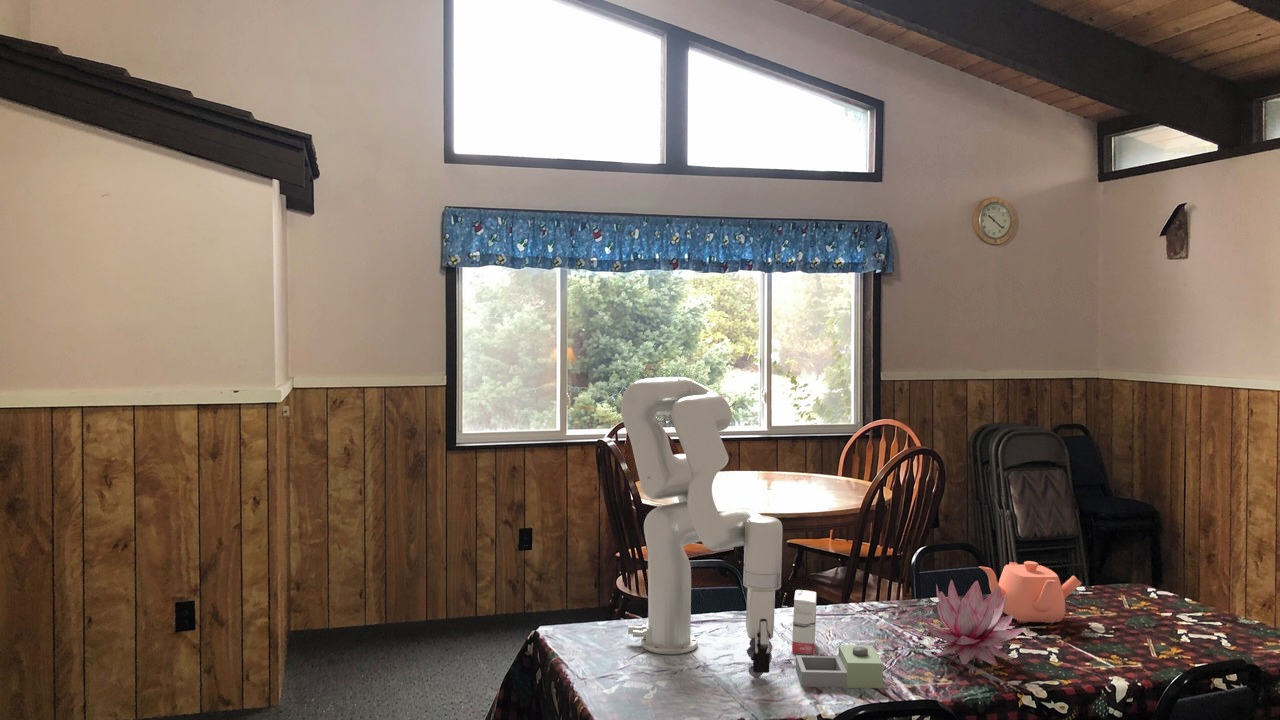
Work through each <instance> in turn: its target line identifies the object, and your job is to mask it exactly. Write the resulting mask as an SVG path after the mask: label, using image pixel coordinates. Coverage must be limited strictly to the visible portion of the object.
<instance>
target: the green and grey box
mask: <svg viewBox="0 0 1280 720" xmlns="http://www.w3.org/2000/svg"><path fill="white" fill-rule="evenodd" d="M883 663H884V662H883V661H882V660H881V657H880V655H879V654H878V653H877V651H876V649H875V648H874V645H861V644H860V645H856V644H855V645H853V644H852V645H851V644H838V655H800V654H799V655H798V654H797V655H795V671H796V675H797V677H798V681H799V684H800V686H801V687H803V688H804V687H806V688H843V689H844V688H845V689H846V688H847V689H848V688H849V689H850V688H853V689H855V688H856V689H883V686H884V685H883V683H884V681H883V680H884V676H883V675H884V672H883V671H884V664H883ZM801 687H800V688H801Z"/></svg>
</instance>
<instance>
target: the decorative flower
mask: <svg viewBox="0 0 1280 720" xmlns="http://www.w3.org/2000/svg"><path fill="white" fill-rule="evenodd" d="M935 586H936V597H937V600H938V604H936V609H937V616H938V618H940V620H941V623H943V625H944V626H945V627H946V628H947V629H949V630H945V629H944V628H943V627H940V626H938V625H936V624H934V623H932V622H930V621H928V620H927V619H926V618H924V617H923V616H921V614H919V613H918V612H917V613H916V614H917V615H918V616H919V618H920V619H921V620H922V621H923V622H924V623H926V624H927V625H924V626H925V628H926V629H927V630H928V631H929V632H930V633H932V634H933V635H935V636H937V637H939V638H941V639H944V640H946V641H947V642H945V643H940V644H930V643H929V644H927V645H928V646H931V647H935V648H936V647H939V648H940V647H946V646H948V647H947V648H945V649H944V650H943V651H941V652H939V653H937V654H934V656H935V657H939V656H940V657H942V656H947V655H951V654H953V653H954V654H953V656H952V658H953V659H955V658H957V657H959V660H960V662H961V664H962V665H967V664H968V663H969V662H970V661H971V660H972V659H973V658H975V659H976V660H977V662H983V661H984V662H986V663H988V664H990V665H992V666H998V662H997V660H996V658H995V657H999V658H1003V659H1013V658H1014V657H1013V656H1011V655H1009V654H1007V652H1004V651H1003V650H1001V649H1002V648H1003V645H998V644H1000V643H1003V642H1006V641H1009V640H1011V639H1014V638H1016V637H1017V636H1019V635H1020V634H1022V633H1023V632H1024V631H1025V630H1027V627H1022V628H1013V629H1012V628H1011V629H1008V628H1009V627H1010V624H1011V623H1012V620H1013V619H1014V618H1013V615H1009V616H1008V615H1006V616H1003V617H1001V616H1002V615H1003V613H1004V612H1003V610H1004V607H1005V601H1006V594H1005V596H1004V597H1003V599H1002V600H1001V589H1000V587H997V588H996V589H995V590H994V591H993V592H992V593H991V592H990V593H989V595H988V596H987V597H986V598H985V599H984V598H983V593H982V589H981V586H980V583H979V581H978V580H976V581H974V582H973V583H972V585H971V586H970V588H969V589H968V590H967V592H966V594H965V595H964V597H962V598H961V600H960V598H959V596H958V592H957V590H956V587H955V584H954V581H953V580H952V579H950V582H949V584H948V591H947V596H946V595H945V593H944V592H943V591H939V588H938V587H939V586H938V584H936V585H935ZM984 662H983V663H984Z"/></svg>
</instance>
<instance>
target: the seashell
mask: <svg viewBox="0 0 1280 720" xmlns="http://www.w3.org/2000/svg"><path fill="white" fill-rule="evenodd" d="M757 637H760V634H757ZM759 643H760V640H758V644H759ZM773 648H774V647H773V644H772V642H771V640H769V653H770V663H771V661H772V656H773V655H772V651H773ZM753 652H755V638H752V639H750V640H749V647H748V648H747V650H746V654H747V655H748V657H749V658H751V657H752V658H753ZM747 672H748V673H749V675H750V676H751V677H753V678H754V679H759V678H760V677H761V676H763V674H764V673H755V672H753V664H752V665H749V667H748V671H747Z"/></svg>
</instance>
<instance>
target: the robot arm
mask: <svg viewBox="0 0 1280 720" xmlns="http://www.w3.org/2000/svg"><path fill="white" fill-rule="evenodd" d="M620 414H621V419H622V423H623V425H624V428H625V430H626V433H627V435H628V438H629V441H630V444H631V448H632V453H633V457H634V461H635V465H636V466H635V467H636V470H637V475H638V478H639V483H640V487H641V490H642V492H643V494H644V495H645V496H646V497H647V498H648V499H650V500H655V501H656V500H657V501H659V500H666V499H671V498H677V500H678V502H674V503H668V504H662V505H660V506H657V507H655V508H653V509H652V510H650V511H649V512H648V514H647V515H646V516H645V519H644V522H643V534H644V539H645V542H646V543H645V544H646V551H647V566H648V568H647V574H648V575H647V576H648V577H647V578H648V581H647V583H648V585H647V586H648V589H647V590H648V593H647V595H648V598H647V599H648V600H647V601H648V602H647V603H648V604H647V605H648V608H647V609H648V610H647V611H648V612H647V618H648V619H647V620H646V624H645V623H643V624H642V625H631V624H629V625H628V627H627V628H628V629H627V630H628V632H627V633H628V635H632V638H641V641H640V642H641V643H640V644H641V645H640V646H641V647H642V648H643V649H645V650H646V651H648V652H651V653H655V654H660V655H680V654H681V655H682V654H687V653H690V652H692V651H694V650H695V649H696V648H697V647H698V638H697V637H695V636H694V635H693V634H692V633H691V630H692V629H691V628H692V626H691V623H692V622H691V621H692V620H691V617H692V616H691V614H692V613H691V612H692V610H691V609H692V606H691V605H692V604H691V602H692V569H691V568H692V566H691V562H690V560H689V557H688V555H687V553H686V551H685V549H684V546H688V545H691V544H696V543H699V542H701V544H702V545H703V546H704V547H706V549H708V550H711V551H713V552H719V551H725V550H728V549H733V548H735V547H736V548H738V547H743V551H744V553H743V582H742V583H743V584H742V585H743V586H744V588H747V593H746V608H745V609H746V611H745V628H746V633H747V637H748V638H749V639H750V640H751V639H752V638H755V652H753V658H752V657H750V661H753V662H752V666H753V672H755V673H763V674H769V673H770V665H771V662H770V653H769V641H770V640H771V639H773V638H774V630H775V628H774V627H775V625H774V624H775V611H776V610H775V607H776V605H775V604H776V599H775V598H776V596H775V595H776V591H778V590H780V588H781V587H782V562H783V561H782V557H783V523H782V522H781V520H780V519H778V518H777V517H774V516H769V515H762V514H761V513H759V512H756V511H754V510H752V509H749V508H742V507H741V508H735V509H729V510H724V511H721V512H720V511H718V509H717V507H716V506H717V505H716V503H715V501H714V497H713V484H714V480H715V478H716V476H717V474H718V473H719V472H720V471H721V470H722V469H724V468H725V467H726V465H727V464H728V462H729V458H730V457H729V454H728V452H727V450H726V446H725V445H724V441H723V440H722V437H721V435H720V433H719V432H721V431H725V430H726V429H728V427H729V426H730V424H731V422H732V417H733V416H732V409H731V406H730V404H729V403H728V401H727V400H726V399H725V397H723V396H722V395H720V393H718V392H716V391H714V390H712V389H710V388H709V387H707V386H704V385H703V384H701V383H699V382H697V381H695V380H693V379H691V378H688V377H685V376H667V377H648V378H643V379H639V380H637V381H634V382H632V383H631V384H629V386H627V387H626V389H625V390H624V392H623V394H622V397H621V401H620ZM665 415H666V416H667V415H670V419H671V422H672V424H673V427H674V430H675V432H676V435H677V438H678V441H679V442H680V446H681V447H682V448H681V449H682V451H683V452H684V453H677V454H673V451H672V448H671V445H670V444H671V443H670V439H669V437H668V434H667V432H666V430H665V429H664V427H663V426H662V425H661V423H659V420H657V419H656V417H657V416H665ZM757 634H760V637H757ZM758 640H760V643H759V644H758Z"/></svg>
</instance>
